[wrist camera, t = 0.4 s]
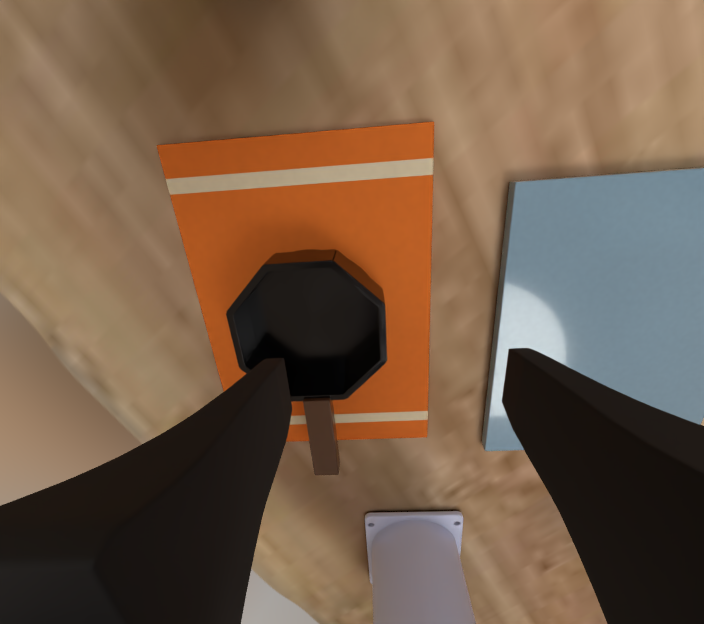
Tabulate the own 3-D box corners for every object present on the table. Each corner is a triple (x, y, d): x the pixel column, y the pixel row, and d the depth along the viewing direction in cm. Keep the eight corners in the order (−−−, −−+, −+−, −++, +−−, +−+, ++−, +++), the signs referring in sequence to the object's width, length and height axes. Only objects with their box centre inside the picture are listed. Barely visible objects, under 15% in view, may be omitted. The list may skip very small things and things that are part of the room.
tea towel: (426, 434, 25) (427, 437, 24) (239, 440, 25) (237, 443, 25) (433, 122, 17) (434, 121, 16) (159, 145, 17) (155, 145, 17)
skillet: (234, 253, 19) (212, 269, 16) (381, 244, 19) (384, 258, 16) (274, 442, 25) (263, 477, 22) (388, 438, 24) (391, 473, 22)
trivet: (682, 437, 24) (692, 445, 23) (481, 442, 25) (484, 451, 24) (797, 159, 17) (817, 159, 16) (509, 181, 18) (515, 181, 17)
